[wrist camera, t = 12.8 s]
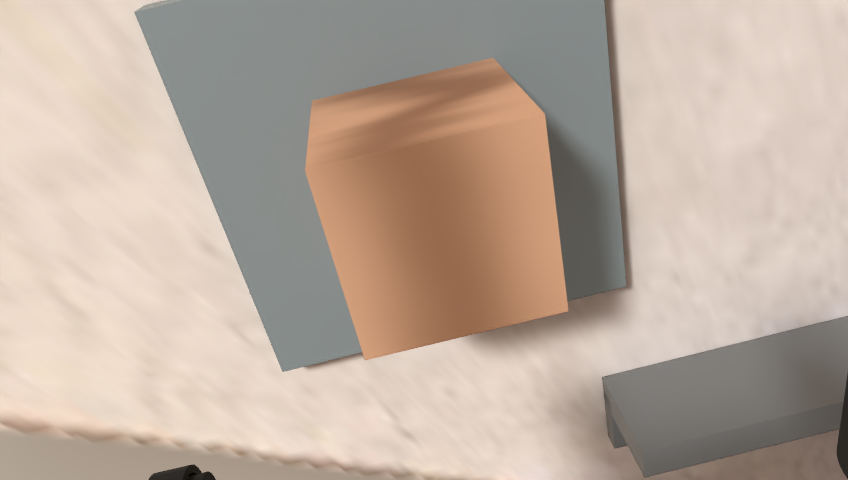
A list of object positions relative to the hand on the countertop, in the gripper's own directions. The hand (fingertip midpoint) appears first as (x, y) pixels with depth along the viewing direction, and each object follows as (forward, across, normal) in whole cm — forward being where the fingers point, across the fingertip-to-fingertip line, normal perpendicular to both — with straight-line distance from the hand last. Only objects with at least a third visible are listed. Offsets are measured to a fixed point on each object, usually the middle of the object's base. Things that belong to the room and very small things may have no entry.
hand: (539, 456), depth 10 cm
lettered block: (+14, +1, +1) cm, 14 cm away
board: (+16, +1, +1) cm, 16 cm away
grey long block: (+16, -12, +16) cm, 25 cm away
